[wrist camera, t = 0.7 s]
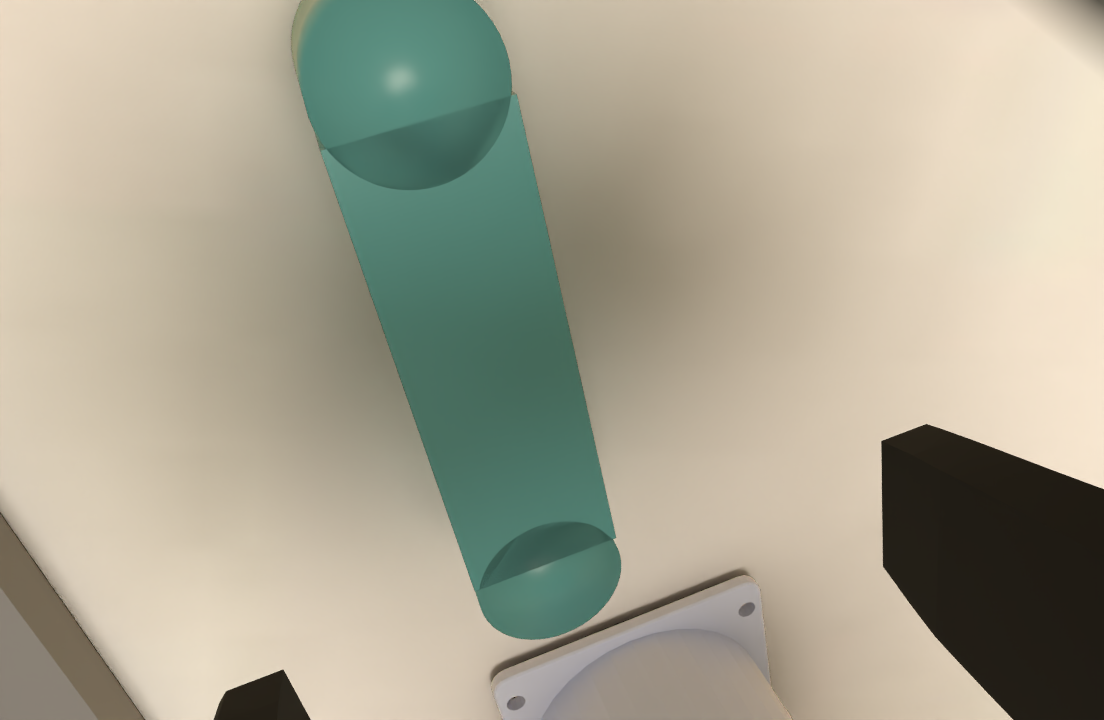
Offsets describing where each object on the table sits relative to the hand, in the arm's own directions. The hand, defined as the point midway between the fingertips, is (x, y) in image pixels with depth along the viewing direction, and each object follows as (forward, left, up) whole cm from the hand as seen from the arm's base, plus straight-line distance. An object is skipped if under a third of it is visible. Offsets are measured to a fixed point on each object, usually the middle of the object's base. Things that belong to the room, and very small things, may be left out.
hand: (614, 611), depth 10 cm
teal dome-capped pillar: (0, 0, -10) cm, 10 cm away
